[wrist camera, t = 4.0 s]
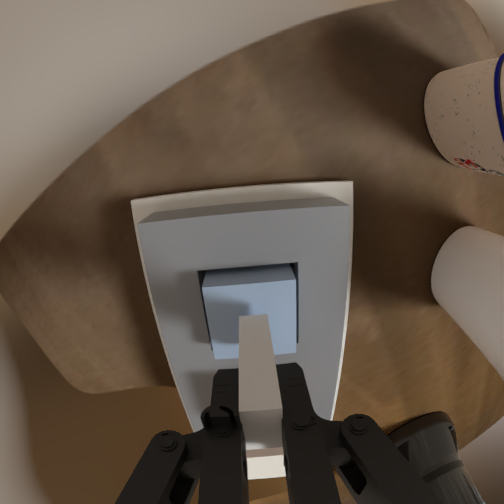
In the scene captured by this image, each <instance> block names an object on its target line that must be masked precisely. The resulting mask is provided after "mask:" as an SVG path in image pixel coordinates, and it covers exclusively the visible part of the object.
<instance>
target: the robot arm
mask: <svg viewBox="0 0 504 504" xmlns="http://www.w3.org/2000/svg"><path fill="white" fill-rule="evenodd" d="M212 386H213V387H212V395H211V405H210V406H209V407H207V408H205V409H204V410H203V411H202V413H201V416H200V418H201V421H202V424H203V427H204V428H202V429H201V430H199V431H197V432H194V433H191V434H186V435H181V434H180V433H178V432H176V431H170V430H167V431H162V432H160V433H158V434H156V435H155V436H154V437H153V438H152V440H151V442H150V444H149V445H148V447H147V449H146V450H145V452H144V454H143V456H142V458H141V459H140V461H139V462H138V464H137V466H136V468H135V469H134V471H133V473H132V475H131V476H130V478H129V480H128V482H127V483H126V485H125V487H124V489H123V490H122V492H121V494H120V496H119V497H118V499H117V501H116V503H115V504H189V503H190V501H191V498H192V496H193V493H194V491H195V488H196V486H197V483H198V481H199V478H200V486H199V499H198V504H249V492H248V467H247V458H246V450H253V449H267V448H277V447H283V452H284V466H285V473H286V480H287V487H288V496H289V503H290V504H341V501H340V497H339V493H338V489H337V485H336V481H335V477H334V473H333V470H332V466H334V468H335V469H336V471H337V473H338V474H339V476H340V477H341V479H342V481H343V482H344V484H345V485H346V487H347V489H348V490H349V492H350V493H351V495H352V496H353V498H354V499H355V501H356V503H357V504H485V502H484V501H483V500H482V499H481V496H480V494H479V492H478V490H477V488H476V487H475V485H474V483H473V481H472V479H471V477H470V475H469V474H468V472H467V470H466V468H465V467H464V465H463V463H462V461H461V459H460V457H459V453H458V446H457V439H456V434H455V428H454V424H453V422H452V421H451V419H450V417H449V416H448V415H447V414H446V413H444V412H437V413H432V414H429V415H426V416H423V417H420V418H418V419H416V420H414V421H412V422H410V423H408V424H406V425H404V426H402V427H401V428H399V429H397V430H396V431H394V432H393V433H391V434H390V435H388V436H387V435H386V434H385V433H384V432H383V431H382V429H381V428H380V427H379V426H378V425H377V423H376V422H375V421H374V420H373V419H372V418H371V417H369V416H367V415H364V414H354V415H350V416H349V417H347V418H346V419H344V421H330V420H326V419H323V418H321V417H320V416H318V415H317V414H316V413H315V411H314V409H313V406H312V402H311V398H310V395H309V391H308V387H307V383H306V380H305V376H304V372H303V369H302V368H301V367H300V366H299V365H298V364H297V363H296V362H293V363H285V364H275V358H274V352H273V346H272V339H271V333H270V327H269V321H268V315H267V314H260V315H248V316H239V368H235V369H218V371H217V372H216V374H215V375H214V377H213V385H212Z"/></svg>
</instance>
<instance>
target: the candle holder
mask: <svg viewBox="0 0 504 504" xmlns="http://www.w3.org/2000/svg"><path fill="white" fill-rule="evenodd" d="M431 289H432V293H433V296H434V298H435V300H436V301H437V302H438V304H439V305H440V306H441V307H442V308H443V309H444V311H445V312H446V313H447V314H448V315H449V316H450V317H451V318H452V319H453V320H454V322H455V323H456V324H457V325H458V326H459V327H460V328H461V329H462V330H463V332H464V333H465V334H466V335H467V336H468V337H469V338H470V340H471V341H472V342H473V343H474V344H475V345H476V347H477V348H478V349H479V350H480V351H481V353H482V354H483V355H484V356H485V357H486V359H487V360H488V361H489V362H490V364H491V365H492V366H493V367H494V369H495V370H496V371H497V372H498V374H499V375H500V376H501V378H502V379H503V382H504V236H503V235H500V234H497V233H494V232H491V231H488V230H485V229H482V228H479V227H475V226H465V227H462V228H460V229H458V230H456V231H455V232H454V233H452V234H451V235H450V236H449V237H448V238H447V240H446V241H445V242H444V244H443V245H442V247H441V248H440V250H439V252H438V254H437V256H436V259H435V262H434V265H433V269H432V274H431Z"/></svg>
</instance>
